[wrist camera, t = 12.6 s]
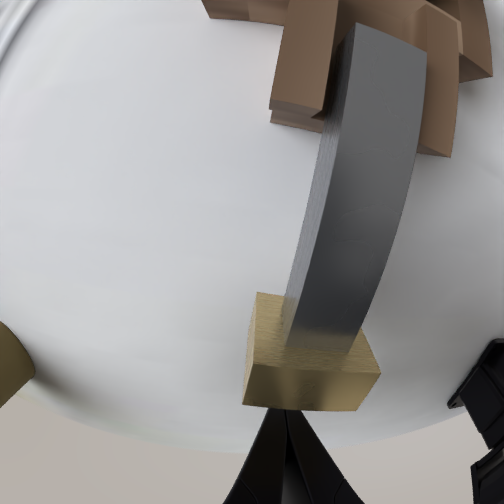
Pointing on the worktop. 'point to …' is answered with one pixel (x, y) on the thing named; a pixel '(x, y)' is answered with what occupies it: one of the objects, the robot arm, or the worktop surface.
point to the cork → (12, 365)
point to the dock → (385, 20)
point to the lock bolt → (342, 233)
